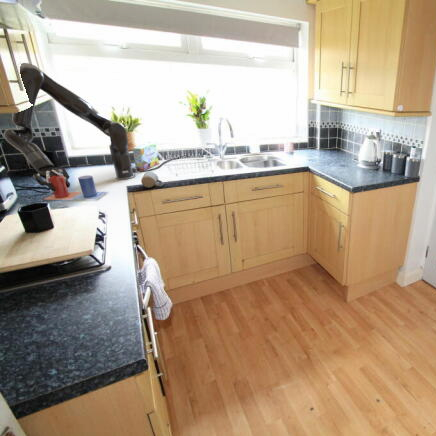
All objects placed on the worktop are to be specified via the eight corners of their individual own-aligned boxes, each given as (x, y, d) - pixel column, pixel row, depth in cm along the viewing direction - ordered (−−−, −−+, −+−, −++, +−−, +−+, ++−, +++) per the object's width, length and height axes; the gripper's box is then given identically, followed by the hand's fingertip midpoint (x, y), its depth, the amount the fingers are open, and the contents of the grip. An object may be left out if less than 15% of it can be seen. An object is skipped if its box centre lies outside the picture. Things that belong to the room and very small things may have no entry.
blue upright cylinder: (87, 193, 168) (82, 175, 163) (99, 193, 168) (94, 175, 164) (81, 197, 162) (75, 178, 158) (93, 197, 163) (88, 178, 159)
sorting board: (57, 193, 168) (56, 192, 168) (106, 192, 172) (106, 191, 171) (43, 200, 158) (43, 199, 158) (96, 199, 162) (96, 198, 162)
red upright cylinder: (59, 193, 165) (53, 175, 161) (72, 193, 166) (66, 175, 162) (52, 197, 160) (45, 178, 156) (65, 197, 161) (59, 178, 157)
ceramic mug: (141, 188, 179) (139, 175, 176) (144, 184, 187) (142, 171, 183) (162, 188, 182) (160, 175, 179) (164, 183, 190) (162, 171, 186)
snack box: (144, 171, 211) (140, 148, 205) (136, 170, 211) (131, 148, 205) (159, 163, 231) (155, 142, 224) (151, 163, 230) (147, 142, 224)
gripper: (24, 160, 152) (47, 188, 153) (57, 154, 164) (79, 180, 165) (21, 169, 156) (44, 196, 157) (54, 163, 168) (75, 188, 169)
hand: (61, 188), depth 161 cm, fingers closed on red upright cylinder, 6 cm apart
